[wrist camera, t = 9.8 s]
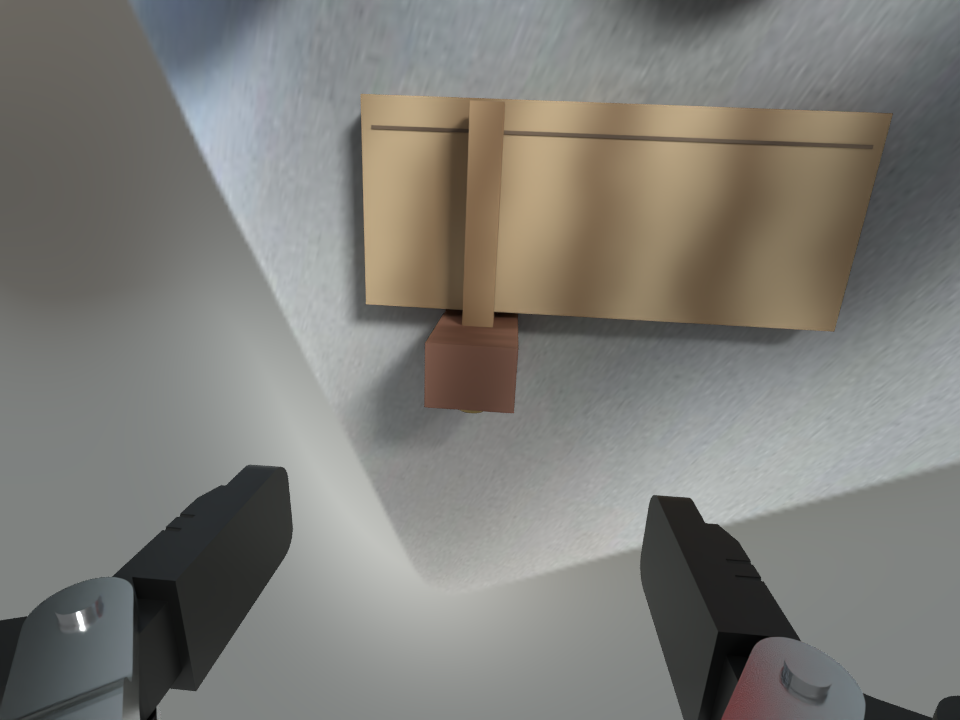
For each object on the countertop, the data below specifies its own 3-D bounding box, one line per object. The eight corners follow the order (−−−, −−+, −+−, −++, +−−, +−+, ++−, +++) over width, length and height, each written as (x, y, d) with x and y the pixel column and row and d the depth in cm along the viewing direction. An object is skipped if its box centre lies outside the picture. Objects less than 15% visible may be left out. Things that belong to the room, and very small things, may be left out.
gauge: (531, 116, 25) (537, 85, 18) (513, 377, 29) (512, 429, 23) (451, 112, 25) (428, 81, 18) (444, 372, 29) (424, 423, 23)
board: (863, 120, 24) (893, 113, 22) (811, 322, 27) (835, 331, 25) (372, 101, 25) (360, 93, 23) (376, 297, 28) (365, 304, 27)
